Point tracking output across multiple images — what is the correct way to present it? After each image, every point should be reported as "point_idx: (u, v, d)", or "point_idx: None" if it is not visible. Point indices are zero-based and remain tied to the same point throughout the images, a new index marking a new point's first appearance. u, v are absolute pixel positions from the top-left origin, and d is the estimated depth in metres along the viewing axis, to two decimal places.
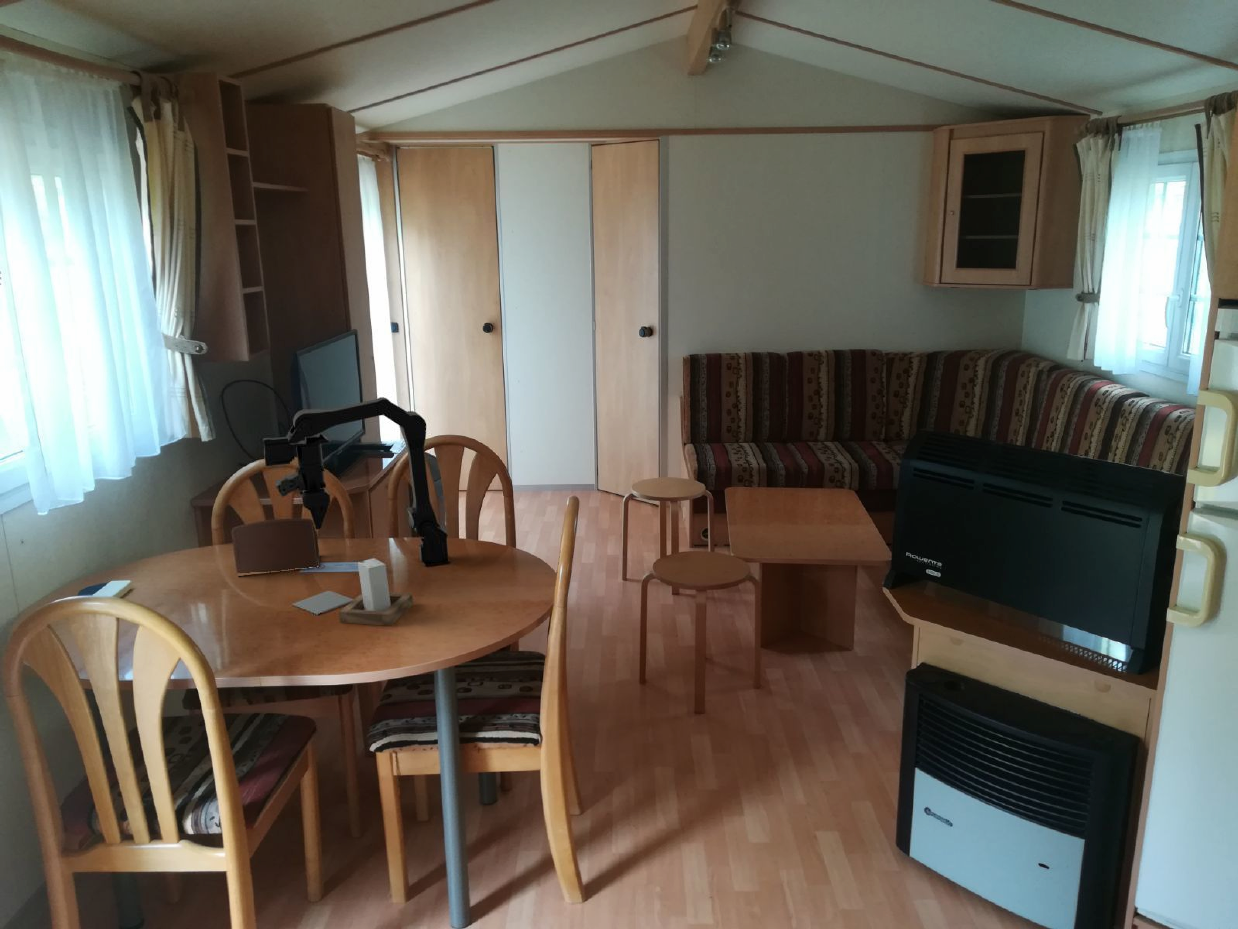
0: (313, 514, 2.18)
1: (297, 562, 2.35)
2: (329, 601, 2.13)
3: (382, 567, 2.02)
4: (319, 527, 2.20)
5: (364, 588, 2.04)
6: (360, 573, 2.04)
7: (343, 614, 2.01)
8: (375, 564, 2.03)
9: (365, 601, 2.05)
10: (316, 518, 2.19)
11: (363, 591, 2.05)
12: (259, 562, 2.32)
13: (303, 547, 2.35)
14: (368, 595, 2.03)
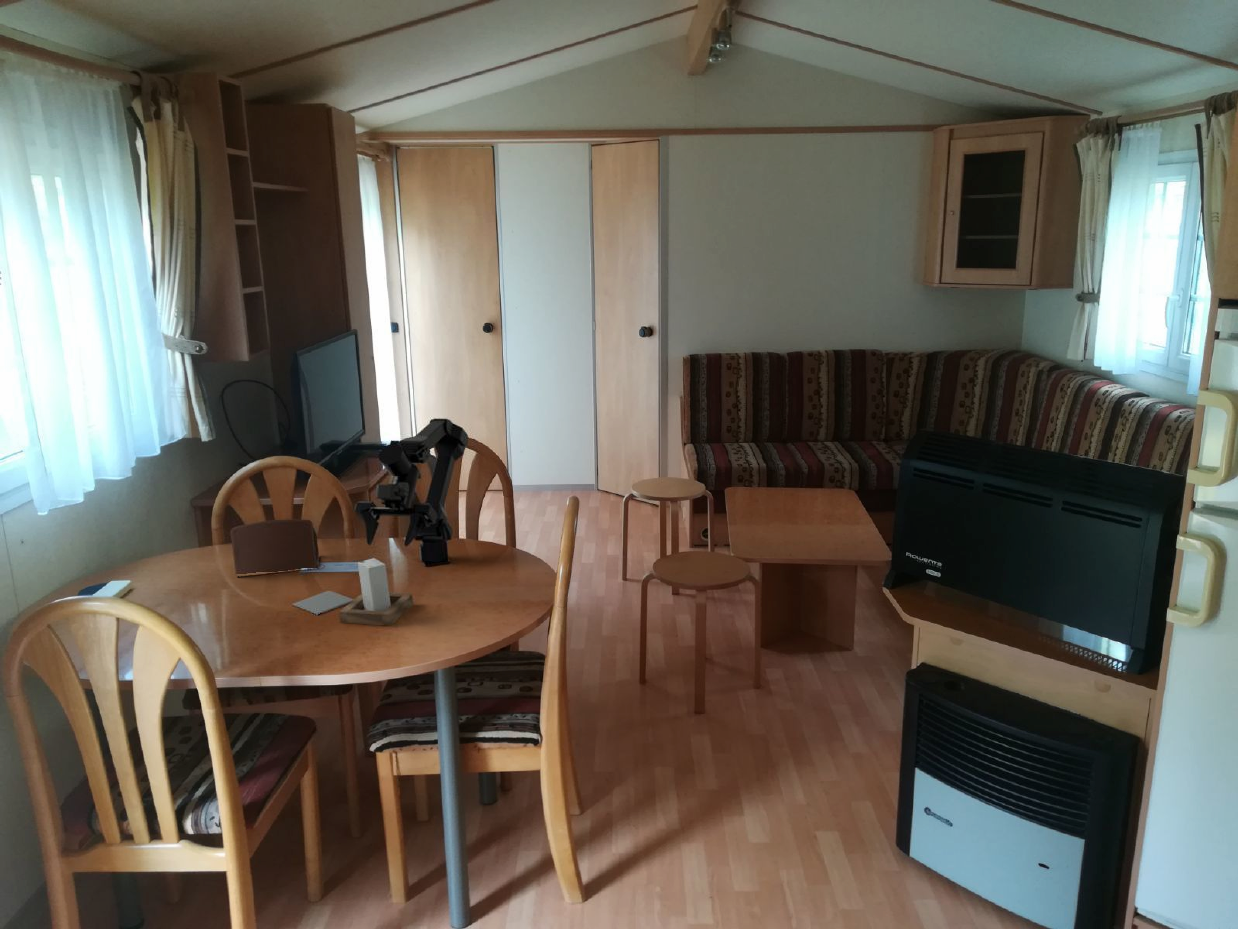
0: (414, 528, 2.11)
1: (296, 563, 2.34)
2: (329, 601, 2.13)
3: (382, 567, 2.02)
4: (407, 544, 2.10)
5: (364, 588, 2.04)
6: (360, 573, 2.04)
7: (343, 614, 2.01)
8: (375, 564, 2.03)
9: (365, 601, 2.05)
10: (412, 533, 2.11)
11: (363, 591, 2.05)
12: (258, 563, 2.32)
13: (302, 548, 2.34)
14: (368, 595, 2.03)
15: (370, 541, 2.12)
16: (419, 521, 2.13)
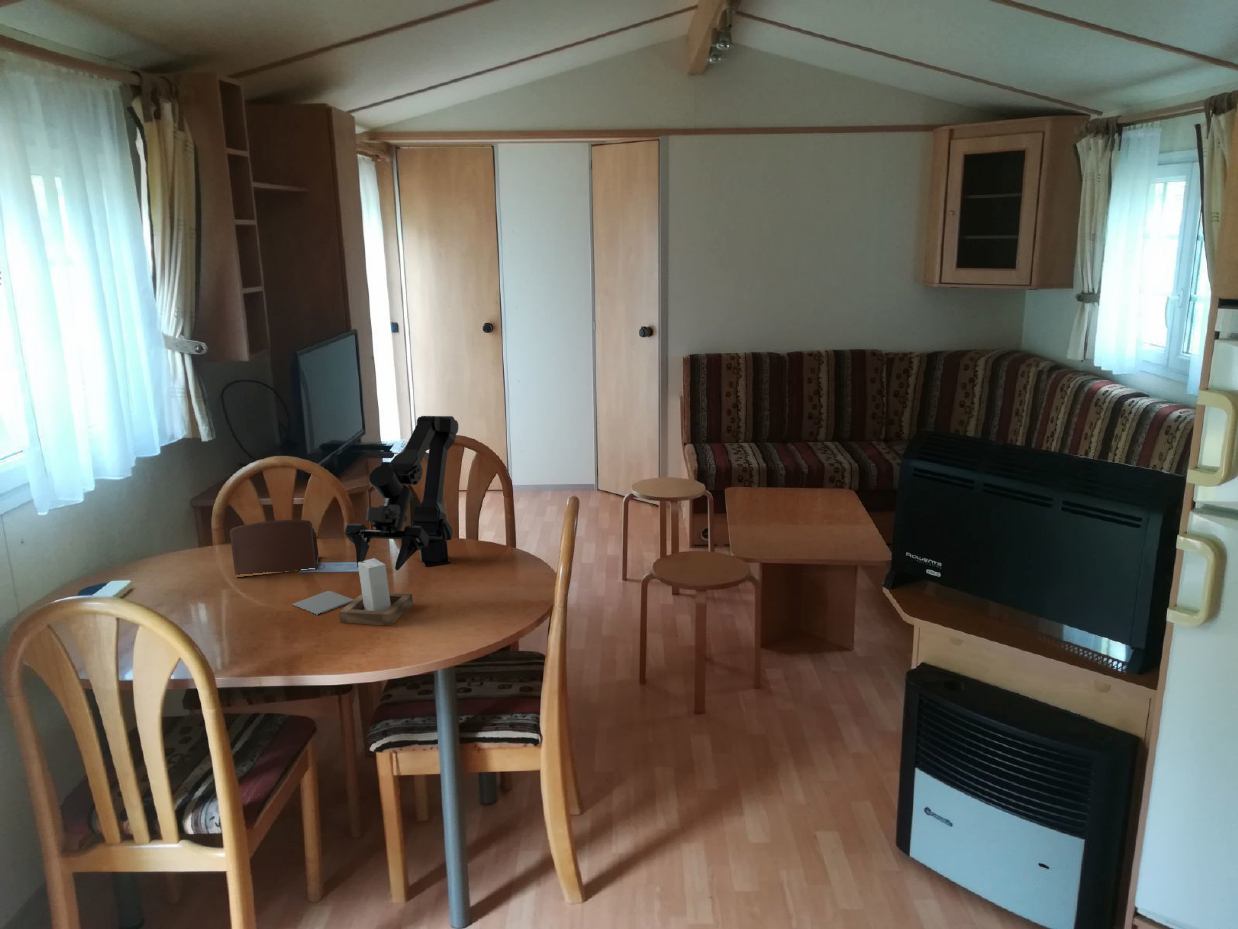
0: (405, 551, 2.06)
1: (295, 564, 2.34)
2: (329, 601, 2.13)
3: (382, 567, 2.02)
4: (398, 568, 2.06)
5: (364, 588, 2.04)
6: (360, 573, 2.04)
7: (343, 614, 2.01)
8: (375, 564, 2.03)
9: (365, 601, 2.05)
10: (403, 557, 2.06)
11: (363, 591, 2.05)
12: (257, 564, 2.32)
13: (302, 549, 2.34)
14: (368, 595, 2.03)
15: None
16: (410, 544, 2.08)
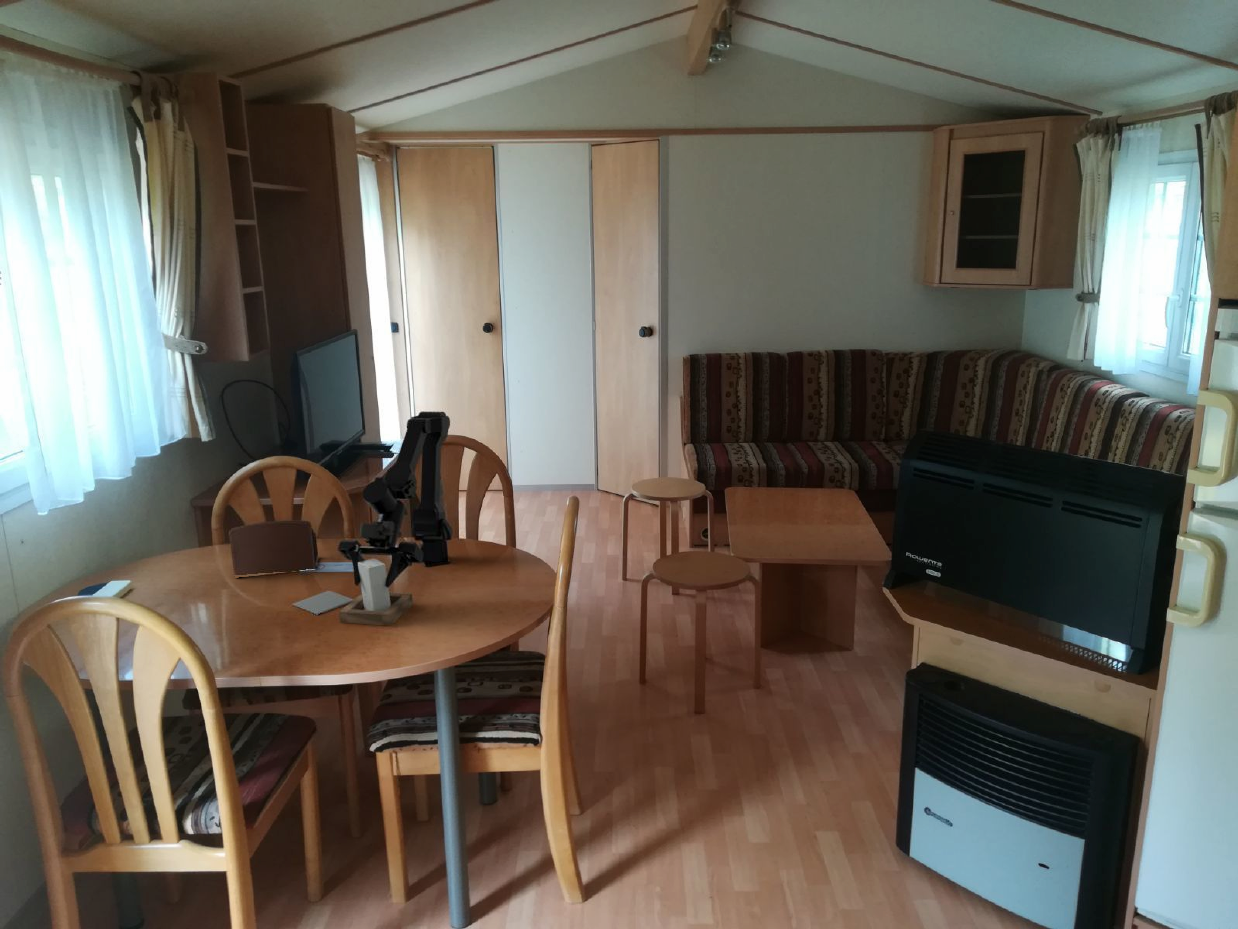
0: (395, 568, 2.04)
1: (294, 564, 2.34)
2: (329, 601, 2.13)
3: (382, 567, 2.02)
4: (388, 585, 2.03)
5: (364, 588, 2.04)
6: (360, 573, 2.04)
7: (343, 614, 2.01)
8: (375, 564, 2.03)
9: (365, 601, 2.05)
10: (393, 574, 2.04)
11: (363, 591, 2.05)
12: (256, 564, 2.31)
13: (301, 549, 2.33)
14: (368, 595, 2.03)
15: (358, 582, 2.04)
16: (401, 561, 2.06)
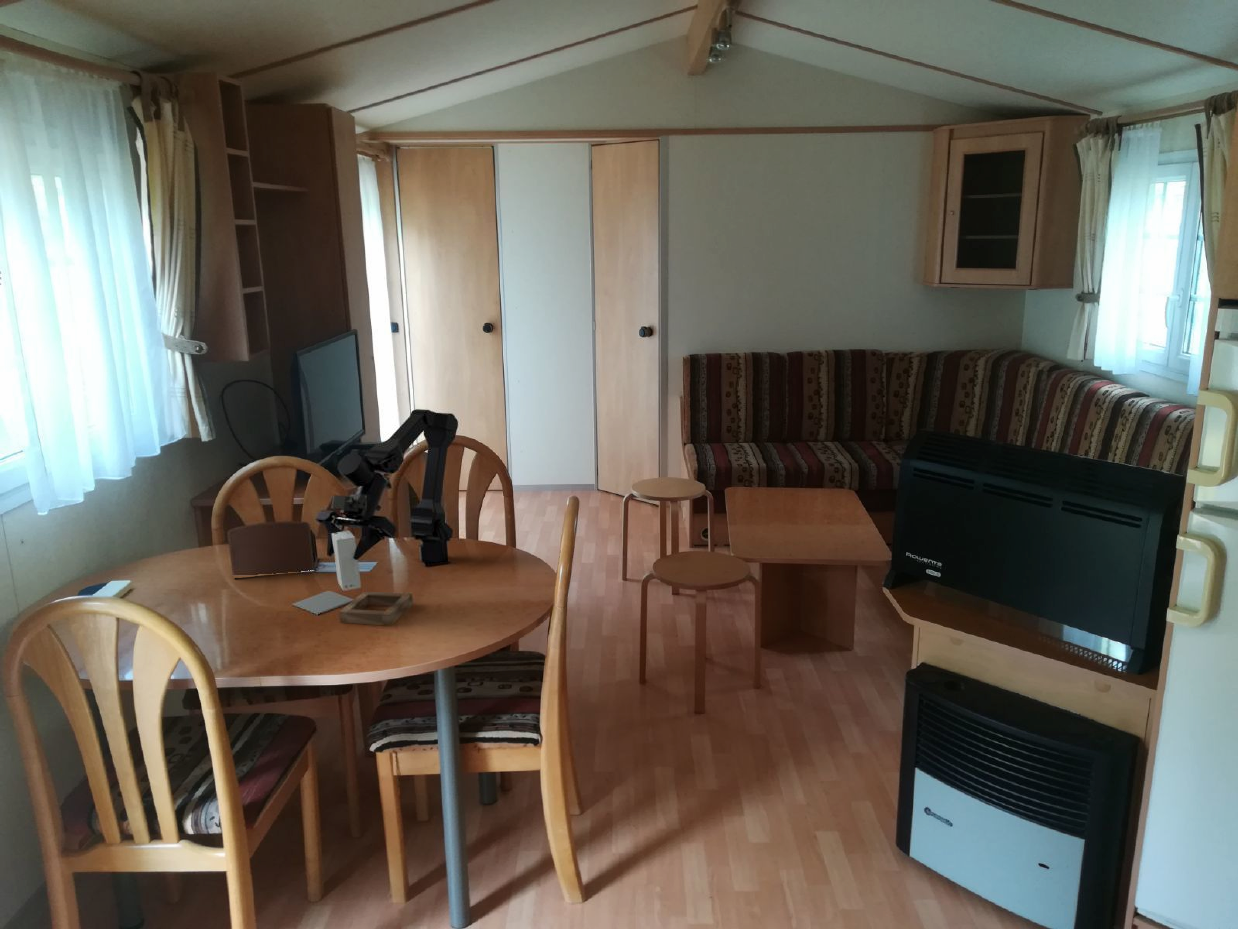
0: (365, 541, 2.03)
1: (293, 565, 2.33)
2: (329, 601, 2.13)
3: (351, 540, 2.02)
4: (357, 558, 2.03)
5: (336, 560, 2.05)
6: (333, 544, 2.05)
7: (343, 614, 2.01)
8: (346, 536, 2.03)
9: (337, 572, 2.06)
10: (362, 547, 2.04)
11: (335, 562, 2.06)
12: (255, 565, 2.31)
13: (300, 550, 2.32)
14: (338, 566, 2.04)
15: (330, 552, 2.06)
16: (372, 534, 2.05)
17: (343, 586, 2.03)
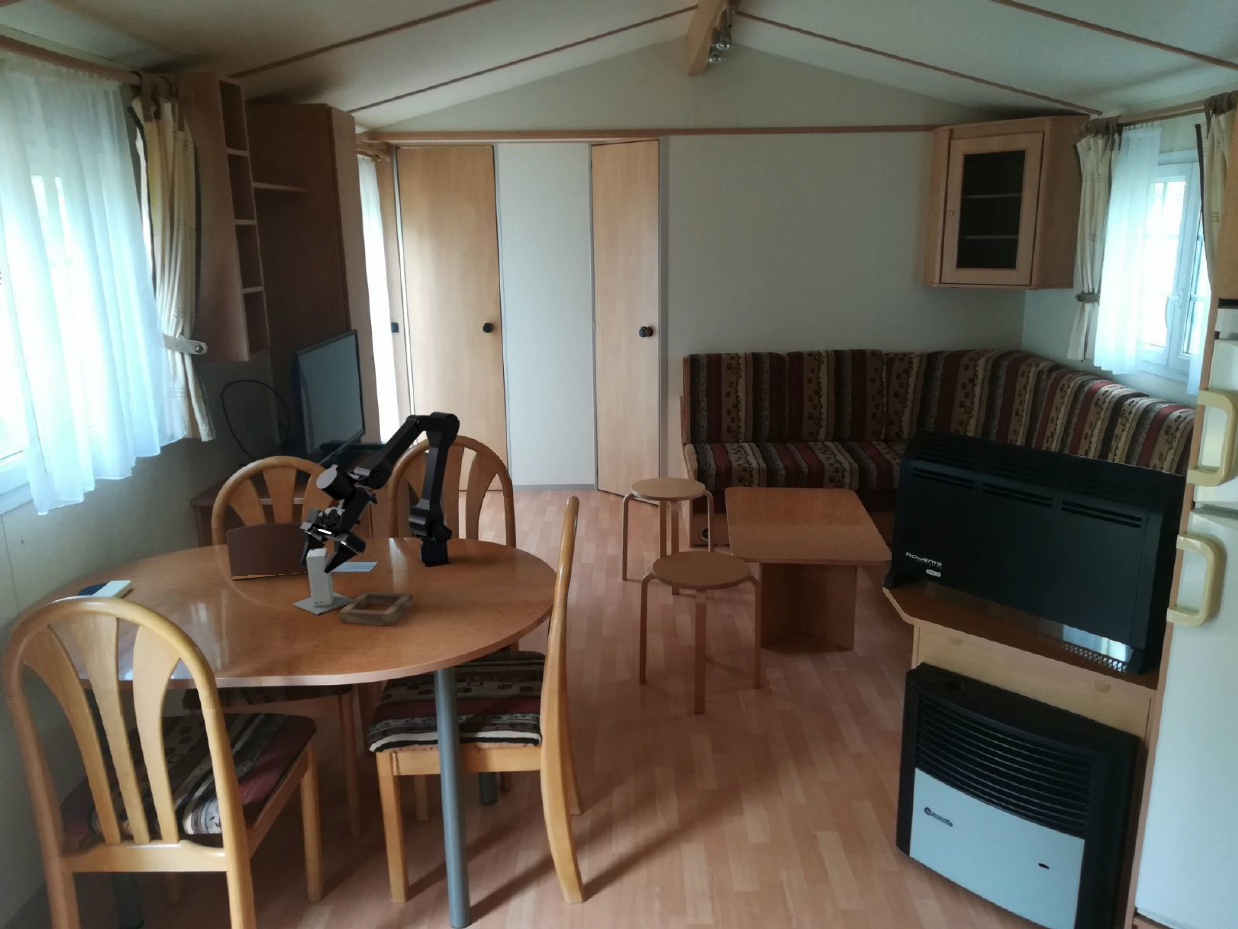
0: (336, 556, 2.07)
1: (291, 567, 2.32)
2: None
3: (321, 558, 2.08)
4: (328, 571, 2.07)
5: None
6: None
7: (343, 614, 2.01)
8: (317, 554, 2.09)
9: None
10: (334, 561, 2.07)
11: None
12: (253, 566, 2.30)
13: (298, 552, 2.31)
14: None
15: (304, 562, 2.13)
16: (345, 549, 2.08)
17: (313, 602, 2.10)
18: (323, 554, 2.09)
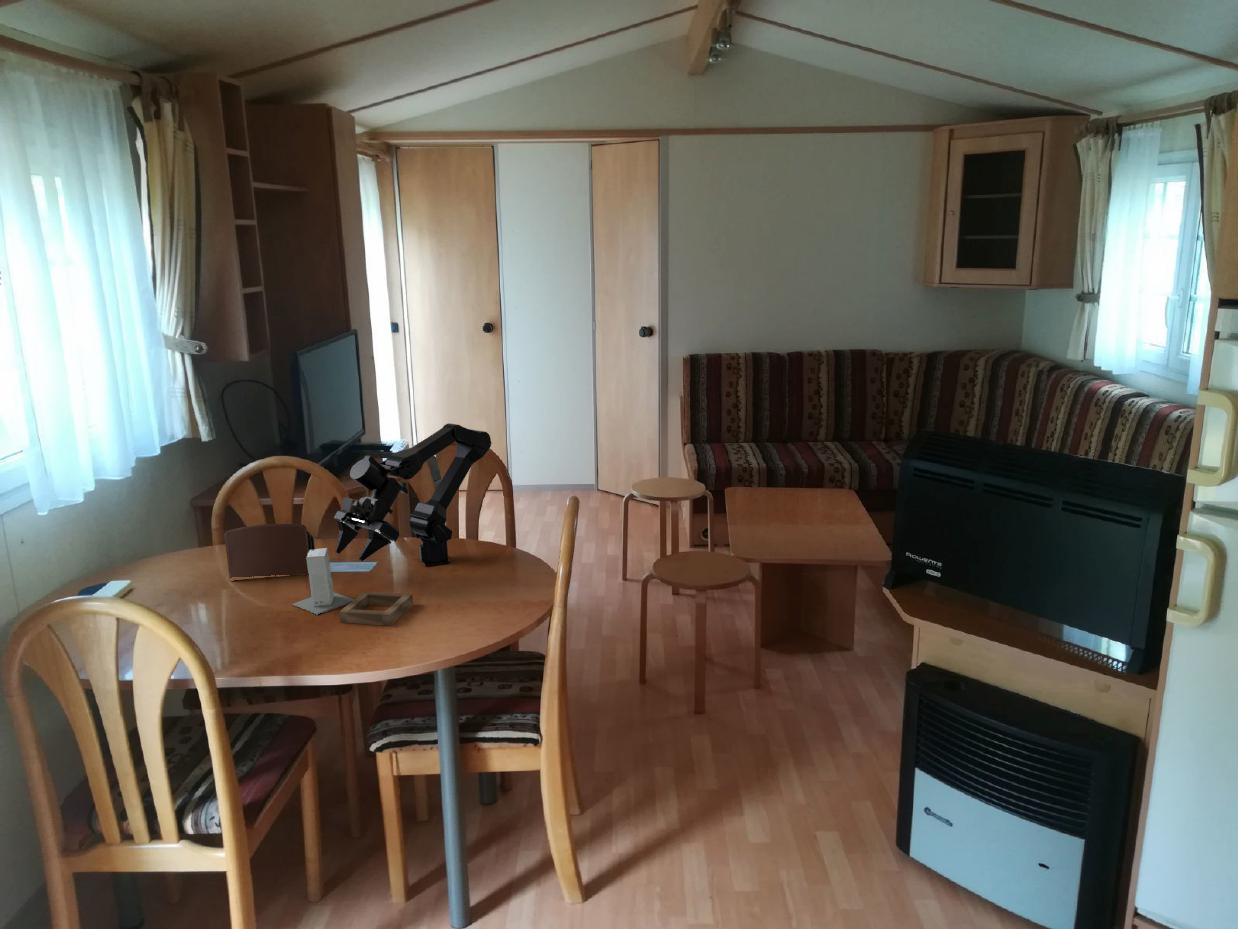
0: (370, 544, 2.14)
1: (289, 568, 2.31)
2: None
3: (321, 558, 2.08)
4: (363, 559, 2.14)
5: None
6: None
7: (343, 614, 2.01)
8: (317, 554, 2.09)
9: None
10: (368, 549, 2.15)
11: None
12: (251, 567, 2.29)
13: (296, 553, 2.30)
14: None
15: (339, 550, 2.20)
16: (379, 537, 2.15)
17: (313, 602, 2.10)
18: (323, 554, 2.09)
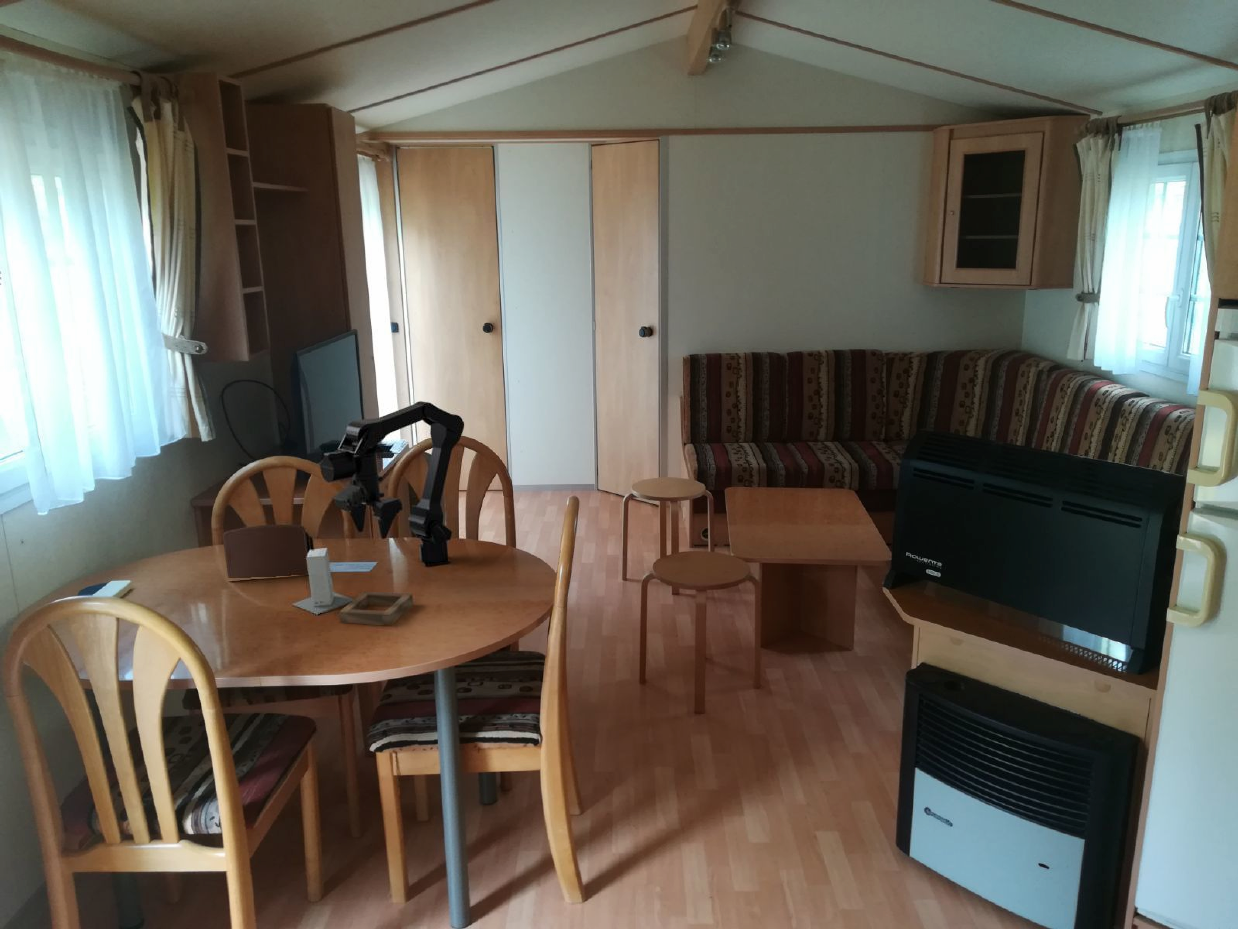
0: (383, 524, 2.18)
1: (288, 569, 2.30)
2: None
3: (321, 558, 2.08)
4: (385, 536, 2.20)
5: None
6: None
7: (343, 614, 2.01)
8: (317, 554, 2.09)
9: None
10: (384, 527, 2.19)
11: None
12: (250, 568, 2.29)
13: (295, 554, 2.30)
14: None
15: (361, 529, 2.25)
16: None
17: (313, 602, 2.10)
18: (323, 554, 2.09)
